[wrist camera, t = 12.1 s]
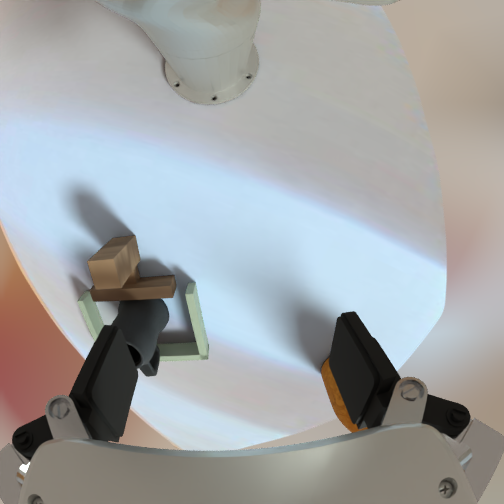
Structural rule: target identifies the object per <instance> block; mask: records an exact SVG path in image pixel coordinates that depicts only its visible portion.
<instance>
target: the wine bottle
mask: <svg viewBox="0 0 504 504" xmlns="http://www.w3.org/2000/svg"><path fill="white" fill-rule="evenodd" d="M321 374H322V378H323V381H324V385H325V388H326V390H327V393H328V396H329V399H330V402H331V404H332V407H333V409H334V412H335V414H336V416H337V417H338V419H339V420H340V421H341V422H342V424H343V425H344V426H345V427H346V428H347V429H348V430H350V431H351V432H352V433H354V432H358V431H361V430H366V429H368V428H367V427H366V428H363V429H359V430H358V427H357V425H356V424H353V423H352V421H351V419H350V416H349V414H348V411H347V409H346V406H345V404H344V401H343V399H342V397H341V394H340V392H339V389H338V387H337V384H336V382H335V379H334V377H333V375H332V372H331V370H330V367H329V358H328V359H327V360H326V361H325V362H324V364H323V366H322V369H321Z"/></svg>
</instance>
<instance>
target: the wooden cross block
mask: <svg viewBox="0 0 504 504" xmlns="http://www.w3.org/2000/svg"><path fill="white" fill-rule="evenodd" d="M139 261H140V255H139V251H138V246H137V241H136V236H135V235H134V236H125V237H117V238H112V239H111V240H110V241H109V242H108V243H107V244H105V245H104V246H103V247H102V248H101V249H100V250H99V251H98V252H97V253H96V254H95V255H93V256H92V257H91V258H90V259H89V260H88V261H87V263H88V266H89V270H90V273H91V276H92V280H93V283H94V286H93V287H92V288H91V289H90V294H91V297H92V300H93V302H97V301H123V300H143V299H161V298H173V296H174V293H175V290H176V287H177V285H176V280H175V275H168V276H155V277H142V278H140V275H139V271H138V267H137V264H138V263H139Z"/></svg>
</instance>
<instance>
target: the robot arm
mask: <svg viewBox="0 0 504 504" xmlns="http://www.w3.org/2000/svg"><path fill="white" fill-rule="evenodd" d="M95 1H96V2H97V3H99V4H100V5H102V6H103V7H105V8H107V9H109V10H111V11H112V12H114V13H116V14H118V15H120V16H122V17H124V18H126V19H129V20H131V21H133V22H134V23H136V24H137V25H139V26H140V27H141V28H142V29H143V30H144V32H145V33H146V34H147V35H148V36H149V38H150V39H151V40H152V42H153V43H154V45H155V46H156V47H157V49H158V50H159V51H160V53H161V54H162V55H163V57H164V58H165V59H166V61H165V73H166V77H167V80H168V82H169V84H170V86H171V87H172V88H173V90H174V91H175V92H176V93H177V94H178V95H180V96H181V97H182V98H184V99H186V100H188V101H190V102H193V103H197V104H204V105H214V104H220V103H225V102H228V101H230V100H232V99H235V98H236V97H238V96H239V95H241V94H242V93H243V92H245V91H246V90H247V89H248V88H249V86H250V85H251V84H252V82H253V81H254V79H255V77H256V74H257V71H258V66H259V57H258V52H257V49H256V47H255V45H254V44H253V40H254V36H255V32H256V28H257V24H258V21H259V17H260V12H261V2H260V0H95ZM335 1H341V2H347V3H354V4H361V5H369V6H382V5H388V4H392V3H395V2H397V1H400V0H335ZM248 76H249V77H250V79H247V77H248ZM177 84H179V87H176V85H177ZM214 97H215V98H216V100H215V101H214V100H212V99H213V98H214ZM329 367H330V370H331V372H332V375H333V377H334V379H335V382H336V384H337V387H338V389H339V392H340V394H341V397H342V399H343V401H344V404H345V406H346V409H347V411H348V414H349V416H350V419H351V421H352V423H353V424H356V425H357V427H358V430H359V429H363V428H366V427H367V428H368V429H366V430H361V431H358V432H354V433H350V434H346V435H341V436H337V437H332V438H327V439H322V440H317V441H312V442H306V443H300V444H294V445H287V446H279V447H271V448H261V449H249V450H230V451H188V450H169V449H156V448H147V447H139V446H131V445H124V444H116V443H110V442H108V441H114V442H119V437H122V436H123V433H124V429H125V425H126V421H127V417H128V413H129V409H130V405H131V401H132V397H133V394H134V390H135V386H136V383H137V379H138V371H137V368H136V366H135V364H134V361H133V359H132V356H131V354H130V351H129V349H128V346H127V343H126V341H125V338H124V335H123V333H122V330H121V329H118V327H117V326H115V325H104V326H103V328H102V329H101V331H100V333H99V335H98V337H97V339H96V341H95V343H94V345H93V347H92V348H91V350H90V352H89V354H88V356H87V358H86V360H85V362H84V364H83V366H82V368H81V371H80V373H79V375H78V377H77V379H76V381H75V383H74V386H73V388H72V390H71V392H70V394H69V397H68V396H65V395H58V396H55V397H53V398H52V399H50V400H49V401H48V403H47V405H46V408H45V413H46V415H44V416H42V417H40V418H38V419H36V420H34V421H32V422H30V423H28V424H25V425H23V426H22V427H19V428H18V429H17V430H16V431H15V432H14V434H13V438H12V443H13V444H12V445H11V444H10V443H8V444H7V445H6V446H5V447H4V448H3V449H2V450H1V451H0V498H1V499H2V501H3V503H4V504H478V503H477V502H478V501H479V499H480V497H481V496H482V494H483V492H484V490H485V489H486V487H487V485H488V483H489V481H490V480H491V477H492V476H493V474H494V472H495V470H496V468H497V465H498V463H499V461H500V459H501V456H502V454H503V452H504V436H503V435H502V434H500V433H499V432H497V431H495V430H494V429H492V428H490V427H489V426H487V425H486V424H484V423H482V422H481V421H479V420H477V419H476V418H474V419H473V420H472V419H470V414H469V411H468V409H467V408H466V407H464V406H463V405H461V404H459V403H455V402H452V401H448V400H445V399H442V398H439V397H435V396H432V395H429V394H428V391H427V387H426V385H425V384H424V383H423V382H422V381H421V380H419V379H417V378H415V377H405V378H402V379H401V378H400V376H399V374H398V373H397V371H396V370H395V368H394V366H393V365H392V363H391V362H390V360H389V359H388V357H387V355H386V354H385V352H384V351H383V349H382V348H381V346H380V345H379V343H378V342H377V340H376V339H375V338H373V337H372V336H371V335H370V333H369V332H368V330H367V328H366V327H365V325H364V324H363V322H362V321H361V319H360V318H359V316H358V315H357V314H356V312H354V311H353V312H346V313H342V314H341V316H340V317H338V318H337V322H336V327H335V333H334V338H333V343H332V347H331V352H330V357H329Z"/></svg>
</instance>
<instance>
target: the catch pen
mask: <svg viewBox="0 0 504 504" xmlns="http://www.w3.org/2000/svg"><path fill="white" fill-rule="evenodd" d="M185 296H186V301H187V305H188V309H189V314H190V318H191V322H192V326H193V330H194V334H195V338H196V342H190V343H170V344H157V346H158V348H159V350H160V361H189V360H207V359H208V353H209V344H208V340H207V336H206V331H205V327H204V322H203V317H202V312H201V308H200V303H199V298H198V293H197V288H196V282H195V283H188V285H187V289H186V293H185ZM78 304H79V307H80V309H81V312H82V314H83V316H84V319H85V321H86V323H87V326H88V328H89V330H90V333H91V335H92V337H93V339H94V341H96V339H97V337H98V335H99V333H100V331H101V329H102V328H103V326H104V324H103V321H102V319H101V316H100V314H99V311H98V309H97V306H96V303H95V302H93V300H92V297H91V294H90V291H85V293H84V294H83V295H82V296H81V297H80V299H79V300H78Z"/></svg>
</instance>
